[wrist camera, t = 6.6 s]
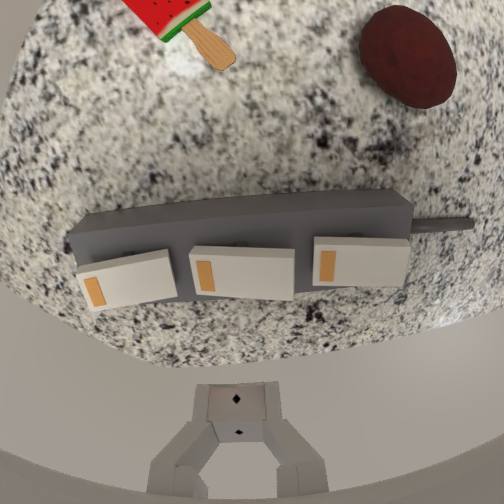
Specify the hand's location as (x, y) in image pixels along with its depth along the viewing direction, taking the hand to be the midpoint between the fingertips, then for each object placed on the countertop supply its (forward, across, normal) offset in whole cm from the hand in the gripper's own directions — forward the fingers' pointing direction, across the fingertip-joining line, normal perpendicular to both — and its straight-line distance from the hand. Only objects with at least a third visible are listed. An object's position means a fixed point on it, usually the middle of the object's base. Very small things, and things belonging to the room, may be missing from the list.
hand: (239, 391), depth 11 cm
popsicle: (+18, +4, -18) cm, 26 cm away
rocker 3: (+11, -8, +2) cm, 14 cm away
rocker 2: (+11, 0, +2) cm, 11 cm away
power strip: (+17, -5, +2) cm, 18 cm away
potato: (+18, -13, -13) cm, 25 cm away
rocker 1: (+11, +9, +2) cm, 14 cm away
